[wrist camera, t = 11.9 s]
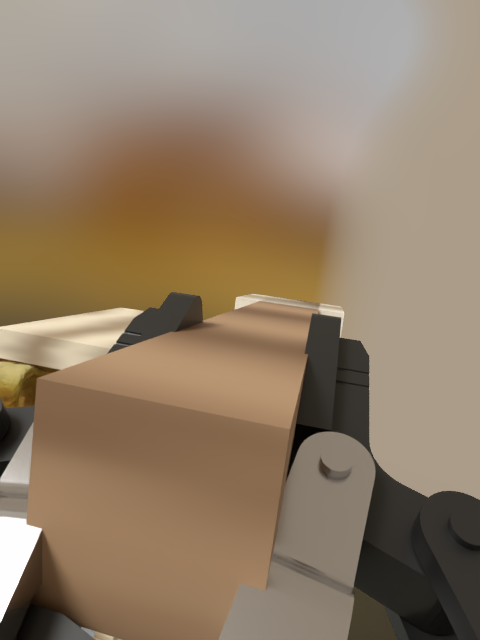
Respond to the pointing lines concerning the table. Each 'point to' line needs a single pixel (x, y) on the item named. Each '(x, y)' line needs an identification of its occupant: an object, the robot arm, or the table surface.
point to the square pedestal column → (66, 345)
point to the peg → (168, 471)
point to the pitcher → (20, 382)
